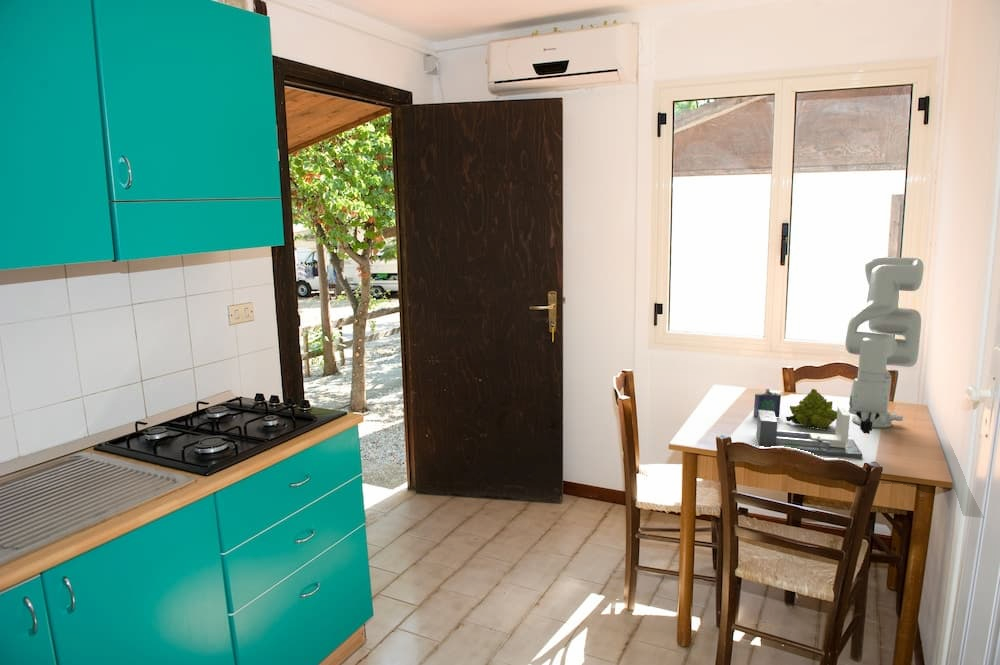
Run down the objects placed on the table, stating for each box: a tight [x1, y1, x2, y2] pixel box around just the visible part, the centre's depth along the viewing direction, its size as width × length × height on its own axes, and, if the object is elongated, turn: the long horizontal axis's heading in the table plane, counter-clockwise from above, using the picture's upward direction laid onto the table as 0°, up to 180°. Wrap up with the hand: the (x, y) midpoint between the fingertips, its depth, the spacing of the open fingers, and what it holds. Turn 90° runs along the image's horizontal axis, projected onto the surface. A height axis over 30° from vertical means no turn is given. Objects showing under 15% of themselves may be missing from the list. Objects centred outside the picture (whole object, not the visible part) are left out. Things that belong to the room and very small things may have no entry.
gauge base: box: [755, 410, 863, 460], centre depth 216 cm, size 30×14×10 cm, turn 73°
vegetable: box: [785, 388, 837, 431], centre depth 235 cm, size 15×16×15 cm
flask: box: [753, 388, 782, 418], centre depth 247 cm, size 9×3×11 cm, turn 83°
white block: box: [809, 406, 851, 448], centre depth 213 cm, size 10×11×11 cm
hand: (865, 432), depth 211 cm, fingers closed
